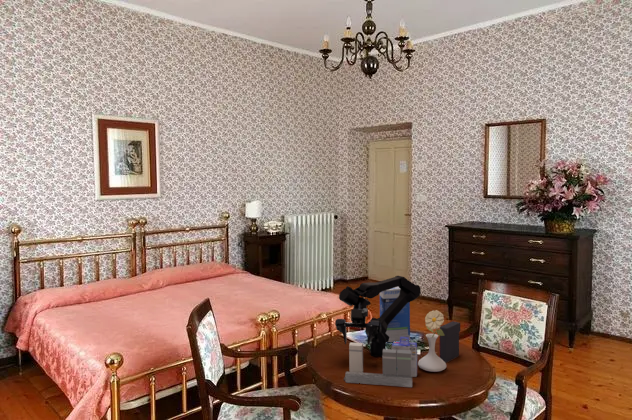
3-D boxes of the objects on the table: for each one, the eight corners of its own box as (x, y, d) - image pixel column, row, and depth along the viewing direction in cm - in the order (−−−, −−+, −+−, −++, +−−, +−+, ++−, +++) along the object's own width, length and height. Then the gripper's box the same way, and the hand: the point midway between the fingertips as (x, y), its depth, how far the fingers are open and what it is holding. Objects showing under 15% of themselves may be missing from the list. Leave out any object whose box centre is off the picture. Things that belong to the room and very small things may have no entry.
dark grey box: (451, 354, 209) (451, 320, 209) (460, 356, 206) (460, 322, 205) (438, 360, 202) (438, 326, 201) (447, 363, 199) (447, 328, 198)
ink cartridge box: (417, 371, 191) (417, 336, 190) (417, 377, 185) (417, 341, 184) (392, 370, 193) (392, 335, 192) (391, 375, 187) (391, 339, 186)
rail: (345, 375, 188) (345, 366, 188) (412, 380, 183) (412, 371, 183) (342, 382, 182) (342, 373, 182) (412, 387, 176) (412, 378, 176)
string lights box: (405, 337, 233) (405, 285, 231) (410, 342, 225) (410, 288, 224) (379, 338, 231) (379, 286, 230) (383, 343, 224) (383, 289, 222)
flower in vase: (412, 366, 197) (411, 306, 195) (434, 361, 201) (434, 303, 199) (431, 378, 185) (431, 314, 183) (455, 372, 189) (455, 311, 187)
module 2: (383, 379, 184) (383, 348, 183) (396, 380, 183) (396, 349, 182) (382, 383, 181) (382, 352, 180) (396, 384, 180) (396, 352, 179)
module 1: (350, 371, 192) (350, 342, 191) (363, 372, 191) (362, 343, 190) (349, 375, 189) (349, 345, 188) (362, 375, 188) (361, 346, 187)
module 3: (397, 380, 183) (397, 349, 182) (411, 381, 182) (411, 350, 181) (397, 384, 180) (397, 352, 179) (411, 385, 179) (410, 353, 178)
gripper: (335, 299, 199) (331, 334, 189) (380, 301, 195) (378, 336, 185) (339, 313, 207) (334, 346, 197) (382, 315, 203) (380, 349, 193)
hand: (356, 344), depth 193 cm, fingers open, 9 cm apart
